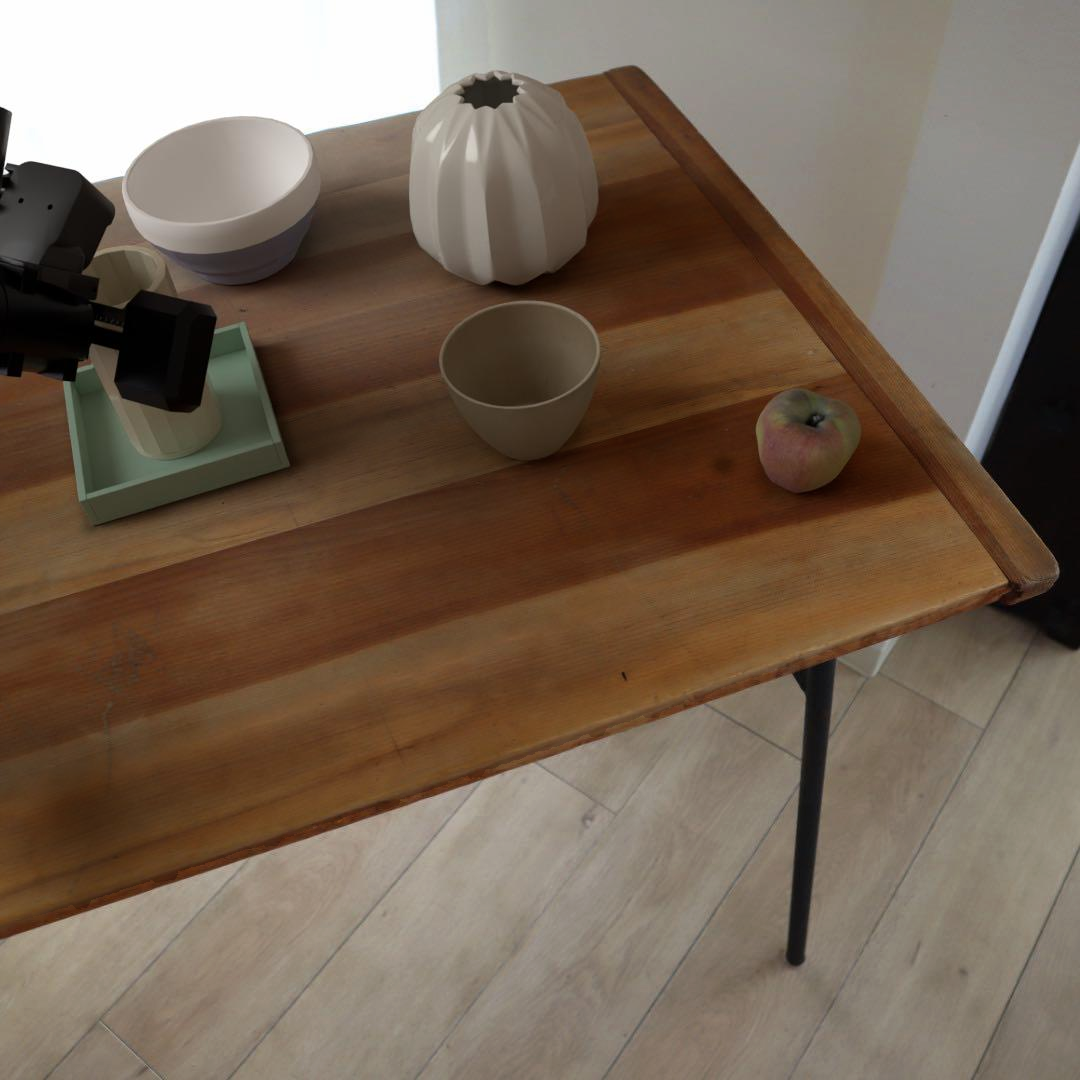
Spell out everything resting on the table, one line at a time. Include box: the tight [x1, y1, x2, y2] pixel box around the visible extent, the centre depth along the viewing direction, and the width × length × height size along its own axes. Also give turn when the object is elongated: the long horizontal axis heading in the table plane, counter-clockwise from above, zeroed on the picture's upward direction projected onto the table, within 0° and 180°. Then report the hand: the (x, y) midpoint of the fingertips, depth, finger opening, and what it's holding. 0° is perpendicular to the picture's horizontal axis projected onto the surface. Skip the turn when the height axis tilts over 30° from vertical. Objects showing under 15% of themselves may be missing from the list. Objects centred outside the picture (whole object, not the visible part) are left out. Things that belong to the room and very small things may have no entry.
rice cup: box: [82, 244, 223, 460], centre depth 75 cm, size 6×6×12 cm
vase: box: [408, 69, 599, 287], centre depth 85 cm, size 14×14×13 cm
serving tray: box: [62, 320, 291, 527], centre depth 80 cm, size 13×13×2 cm
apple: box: [755, 387, 862, 494], centre depth 72 cm, size 6×8×6 cm
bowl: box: [121, 115, 322, 286], centre depth 90 cm, size 14×14×8 cm
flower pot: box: [438, 300, 602, 461], centre depth 75 cm, size 10×10×7 cm
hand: (156, 339), depth 76 cm, fingers closed on rice cup, 6 cm apart
